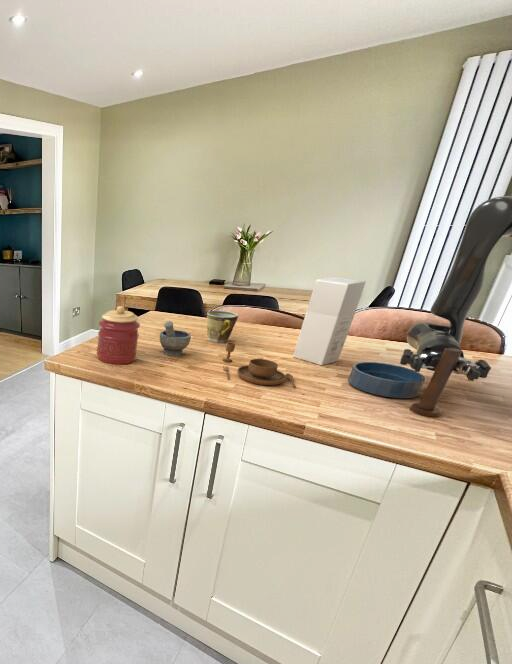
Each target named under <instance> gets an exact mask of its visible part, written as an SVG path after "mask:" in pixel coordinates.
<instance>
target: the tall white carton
mask: <svg viewBox="0 0 512 664" xmlns="http://www.w3.org/2000/svg"><path fill="white" fill-rule="evenodd" d="M366 283H367V282H366V280H361V279H360V280H359V279H353V278H345V277H337V276H331V277H325V278H319V279H316V280H315V282H314V285H313V289H312V292H311V296H310V299H309V301H308V302H309V303H308V305H307V309H306V312H305V315H304V318H303V322H302V325H301V329H300V331H299V335H298V339H297V341H296V345H295V349H294V352H293V355H292V357H293V358H296V359H299V360H302V361H305V362H309V363H312V364H315V365H319V366H324V365H329V364H332V363H334V362H338V361H339V360H340V358H341V355H342V353H343V352H342V351H343V349H344V346H345V344H346V341H347V337H348V334H349V332H350V329H351V327H352V323H353V321H354V318H355V314H356V312H357V309H358V305H359V303H360V300H361V297H362V294H363V291H364V288H365V285H366Z"/></svg>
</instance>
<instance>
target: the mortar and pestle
mask: <svg viewBox="0 0 512 664" xmlns="http://www.w3.org/2000/svg"><path fill="white" fill-rule="evenodd" d="M163 325H164V328H165V329H164V330H161V331H159V343H160V345H161V347H162V348H163V349H162V353H163V354H164V355H166V356H169V357H179V356H182V355H183V350H185V349H186V348H187V347H188V346H189V344H190V341H191V338H192V335H191V333H190V332H187V331H186V330H185V331H184V330H179V329H174V323H173V322H172V321H171V320H169V321H166V322H165V323H164V324H163Z"/></svg>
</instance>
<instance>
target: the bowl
mask: <svg viewBox="0 0 512 664" xmlns="http://www.w3.org/2000/svg"><path fill="white" fill-rule="evenodd" d="M347 382H348V384H349V385H351V386H352V387H354V388H356V389H358V390H360V391H363V392H365V393H368V392H369V394H371V395H375V396H380V397H385V398H390V399H413V398H416V397H418V396H419V394H420V393H421V390H422V389H423V386H424V384H425V382H426V376H424V374H422V373H420V372H416V371H415V369H412V368H408V367H405V366H400V365H398V364H397V365H396V364H392V363H386V362H378V361H359V362H355V363H353V365H352V367H351V370H350V373H349V376H348V378H347Z"/></svg>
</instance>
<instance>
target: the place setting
mask: <svg viewBox="0 0 512 664" xmlns="http://www.w3.org/2000/svg"><path fill="white" fill-rule="evenodd" d="M235 349H236V343H235V342H232V341H231V342H230V341H227V342H226V345H225V351H226V352H227V355H226V358H223V359H222V361H223V362H225V363H233V359H231V353H233V352H234V351H235ZM278 366H279V363H277V362H276V361H273V360H270V359H265V358H253V359H250V360H249V363H248V365H241V366H239V367H238V368H237V370H236V373H237V375H238V376H239V377H240V378H241V379H243V380H244V381H245V382H248V383H252V384H255V385H260V386H274V385H280V384H282V383H283V382H284V381H285V380H286V379H288V380H290V383H291V386H292V387H293V388H296V384H295V383H294V380H293V379H294V376H293V375H292V374H291V373H286V374H285V373H283V372H281V371H280V370H278ZM222 368H224V369H223V371H224V372H225V373H226V376H227V380H230V375H229V369H228V365H223V367H222Z"/></svg>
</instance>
